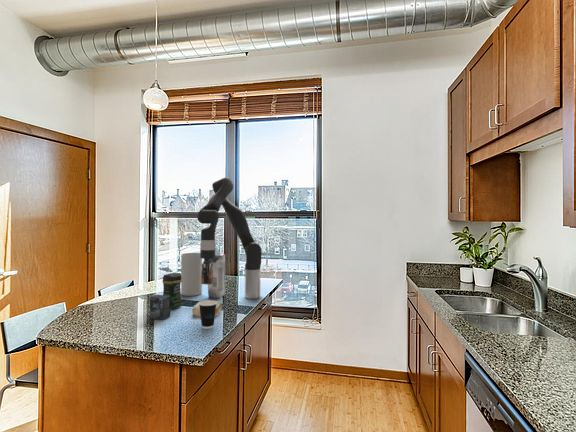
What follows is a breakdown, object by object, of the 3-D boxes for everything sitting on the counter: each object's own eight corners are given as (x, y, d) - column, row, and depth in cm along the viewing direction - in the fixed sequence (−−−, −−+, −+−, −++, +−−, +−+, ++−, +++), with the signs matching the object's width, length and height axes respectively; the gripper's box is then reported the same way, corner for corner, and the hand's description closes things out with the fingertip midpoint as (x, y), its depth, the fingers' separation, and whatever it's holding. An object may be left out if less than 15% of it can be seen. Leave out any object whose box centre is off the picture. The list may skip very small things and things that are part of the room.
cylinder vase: (198, 296, 200) (198, 255, 200) (178, 296, 200) (178, 255, 200) (204, 291, 212) (204, 252, 212) (185, 291, 213) (185, 252, 212)
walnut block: (213, 282, 171) (213, 269, 171) (211, 284, 166) (211, 270, 166) (203, 282, 171) (203, 268, 171) (201, 284, 166) (201, 270, 166)
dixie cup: (208, 331, 142) (208, 306, 142) (194, 327, 146) (194, 303, 146) (220, 325, 149) (220, 301, 149) (207, 322, 153) (207, 299, 153)
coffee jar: (170, 311, 170) (170, 275, 170) (159, 308, 174) (159, 274, 173) (184, 306, 179) (184, 272, 179) (173, 304, 182) (173, 271, 182)
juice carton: (226, 294, 205) (226, 251, 205) (221, 298, 195) (221, 253, 194) (212, 294, 206) (212, 251, 206) (206, 298, 196) (206, 253, 195)
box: (149, 318, 158) (149, 296, 158) (157, 315, 163) (157, 294, 163) (162, 320, 155) (162, 298, 155) (170, 317, 161) (170, 295, 161)
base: (221, 309, 174) (221, 301, 174) (216, 316, 162) (216, 307, 162) (198, 308, 174) (199, 300, 174) (192, 316, 162) (192, 307, 162)
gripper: (212, 250, 161) (211, 285, 161) (218, 247, 175) (217, 279, 176) (196, 250, 161) (196, 284, 161) (204, 247, 175) (203, 278, 176)
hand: (207, 281), depth 168 cm, fingers closed on walnut block, 5 cm apart
